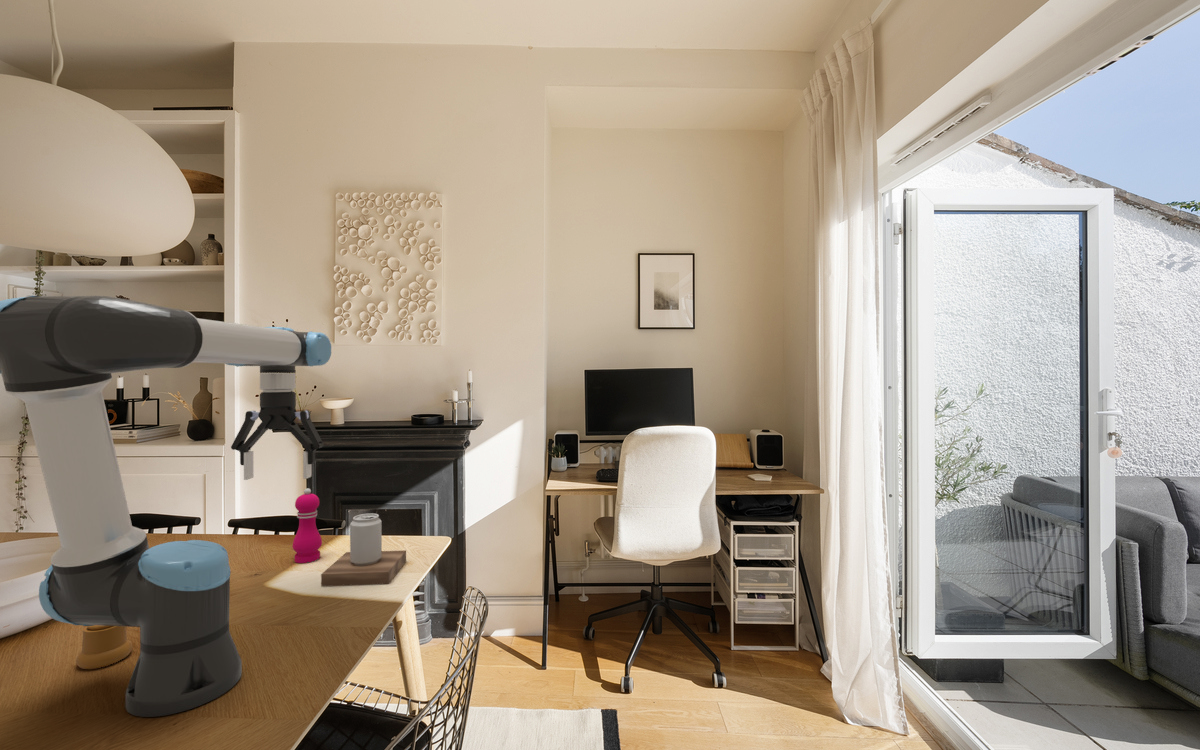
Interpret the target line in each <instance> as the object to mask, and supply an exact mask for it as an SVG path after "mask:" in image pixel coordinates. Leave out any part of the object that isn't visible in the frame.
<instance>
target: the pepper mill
mask: <svg viewBox="0 0 1200 750" xmlns="http://www.w3.org/2000/svg"><path fill="white" fill-rule="evenodd" d="M319 506H320V498H319V497H318V495H316V494H314V493H312V490H311V488H307V487H306V488H305V489H304V490H303V494H301V495H299V496H298V497H297V498H296V499H295V502H294V507H295V509H296V510H297V512H296V514H297V515H296V518H297V519H298V521H299V522H298V529H297V531H296V534H295V537H294V538H293V541H292V550H293V551H294V552H295V554H294V562H295V564H307V562H309V563H312V561H313V562H316V561H318V560H319V559H320V558H321V552H320V550H319V549H320V548H321V546H322V544H323V540H322V537H321V533H319V530H318V528H317V525H316V524H317V523H316V520H317V519H316V518H317V516H318V510H317V509H318V508H319ZM317 559H318V560H317ZM315 560H316V561H315Z"/></svg>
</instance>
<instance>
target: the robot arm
mask: <svg viewBox="0 0 1200 750" xmlns="http://www.w3.org/2000/svg"><path fill="white" fill-rule="evenodd" d="M331 356H332V344H331V340H330V338H329V337H328V336H327V335H326V333H323V332H318V331H317V332H314V331H308V332H307V331H295V330H294V329H293V328H291V327H282V326H281V327H280V326H259V325H250V324H242V323H236V322H235V323H234V322H228V321H227V322H226V321H220V320H214V319H213V320H212V319H206V318H198V317H196V316H195V315H194V314H193V313H191V312H189V311H188V310H183V309H177V308H171V307H166V306H162V305H156V304H151V303H147V302H143V301H142V302H140V301H136V300H130V299H126V298H121V297H120V298H119V297H113V296H104V295H85V296H84V295H82V296H80V295H77V296H76V295H73V296H72V295H71V296H70V295H68V296H66V295H64V296H49V295H47V296H46V295H44V296H42V295H28V296H24V297H23V296H22V297H13V298H7V299H6V298H5V299H3V300H0V375H1V377H2V381H3V385H4V390H5V392H6V393H7V394H8V395H11V396H12V397H15V398H17V399H19V400H21V401H23V402H24V406H25V410H26V415H27V417H28V421H29V426H30V430H31V433H32V438H33V441H34V445H35V449H36V453H37V457H38V460H39V465H40V468H41V472H42V477H43V481H44V483H45V484H44V485H45V488H46V491H47V496H48V500H49V503H50V508H51V511H52V515H53V520H54V523H55V526H56V531H57V534H58V539H59V543H60V546H59V548H58V549H57V550H55V552H54V553H53V554H52V555H51V557H50V563H51V565H50V566H49V567H48V568H47V569H46V570H45V573H44V576H45V578H44V579H43V580H42V581H41V582H40V583H39V587H38V598H39V604H40V606H41V608H42V610H43V611H44V613H45V614H46V615H48V616H49V617H50V618H51V619H53V620H54V621H57V622H61V623H63V624H70V625H74V626H83V627H86V626H93V625H104V626H126V628H127V627H128V628H129V627H131V628H139V641H140V642H139V643H140V645H139V646H140V647H139V648H140V649H139V651H140V652H139V656H138V659H137V661H136V664H135V666H134V668H133V671H132V674H131V676H130V679H129V683H128V685H127V688H126V690H125V710H126V712H127V713H129V714H130V715H131V716H132V715H133V716H135V717H140V718H141V717H142V718H151V717H152V718H153V717H162V716H163V717H164V716H169V715H174V714H177V713H182V712H185V711H189V710H191V709H195V708H197V707H198V708H199V706H203V705H205V704H207V703H209V702H211V701H214V700H215V699H218V698H219V697H221V696H222V695H224V694H225V693H227V692H228V691H230V690H231V689H232V688H233V687H234V686H236V685H237V684H238V682H239V680H240V679H241V678H242V674H243V673H242V671H243V670H242V668H243V665H242V658H241V656H240V654H239V652H238V651H239V650H238V648H237V646H236V644H235V642H234V639H233V637H232V635H231V631H230V598H231V597H230V594H231V593H230V590H231V589H230V588H231V587H230V585H231V566H230V563H229V560H230V559H229V554H228V553H229V552H228V551H227V548H225V547H224V546H222V545H221V544H219V543H216V542H214V541H208V540H202V539H188V540H185V541H184V540H183V541H182V540H175V541H168V542H163V543H159V544H156V545H154V546H152V547H150V546H149V541H148V537H147V532H146V531H145V530H144V529H142V528H139V527H137V526H133V525H132V520H131V516H130V515H131V514H130V511H129V507H128V506H129V505H128V501H127V498H126V494H125V489H124V484H123V480H122V479H123V478H122V475H121V470H120V467H119V466H120V465H119V463H118V462H119V461H118V458H117V453H116V449H115V444H114V438H113V434H112V431H111V426H110V423H109V422H110V421H109V417H108V413H107V412H108V411H107V407H106V404H105V400H104V395H103V390H104V389H105V387H106V386H107V385H108V384H109V383H110V382H111V381H112V380H113V377H112V374H116V373H127V372H133V371H143V370H150V369H151V370H154V369H167V368H168V369H169V368H171V369H179V368H184V367H187V366H189V365H191V364H193V363H201V364H202V363H205V364H208V363H209V364H225V365H226V366H235V367H259V390H261V391H262V392H260V393H259V408H260V410H259V411H256V410H249V411H248V410H247V411H246V412H245V416H244V420H243V423H242V425H241V427H240V428H239V431H238V432H237V434H236V436H235V439H234V440H233V443H232V444H231V445H230V448H231V450H233V451H234V450H235V451H237V452H239V455H240V456H239V457H240V458H239V459H240V461H239V463H240V465H241V466H243V480H244V481H247V480H250V479H253V478H254V450H251V449H252V448H253V447H254V445H255V444H256V443H257V442H258V441H259V440H260V439H261V438H262V437H263V435H264V434H265V433H266V432H267V431H268V430H271V431H272V430H273V431H274V430H287V431H288V432H290V434H292V435H293V437H294V438H296V440H297V441H298V442H299V444H300V445H301V446H302V447H304V449H305V451H303V452H302V458H303V459H302V463H303V464H302V466H303V468H302V469H303V470H302V471H303V473H302V478H303V480H304V479H305V480H307V479H309V478H311V477H312V465H313V464H315V463H316V451H317V450H319V449H321V448H323V447H324V445H325V444H324V442H323V440H322V438H321V436H320V435H319V434H320V433H319V432H318V431H317V429H316V427H315V424H314V423H313V422H312V419H311V412H310V411H309V410H308V409H307V410H301V411H297V409H296V404H297V401H296V400H297V397H296V396H297V393H296V391H294V390H295V389H296V387H297V385H296V383H297V379H296V377H297V376H296V371H297V370H296V367H317V366H318V367H320V366H324V365H326V364H327V363H328V362H329V361H330V359H331ZM258 418H259V420H260V421H261V422H260V424H259V425H258V426H257V427H256V429H255V430H254V431H253V433H251V430H252V428H253V427H254V425H255V423H256V421H257V420H258ZM297 418H298V419H299V421H301V425H302V426H303V428H304V431H305V432H306V434H305V433H304V432H303V430H302V429H301V428H300V427H299V425H298V423H296V421H295V420H296V419H297ZM250 433H251V435H250V436H249V434H250ZM248 436H249V437H248Z"/></svg>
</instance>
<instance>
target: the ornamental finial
mask: <svg viewBox="0 0 1200 750" xmlns="http://www.w3.org/2000/svg"><path fill="white" fill-rule="evenodd" d="M81 644H82V645H81V650H80V651H79V652H78V654H77V656H76V658H75V663H76V665H77V667H78V668H80V669H82V670H96V669H101V667H102V668H106V667H108V665H109V666H111V665H110V664H112V665H114V664H117V663H118V661H119V662H121V661H123V660H124V659H125V658H127V657H128V655H130V653H131V652H132V649H133V644H132V642H131V640H129V638H128V637H127V627H126V626H104V625H93V626H84V628H83V629H82V643H81ZM122 659H123V660H122ZM120 660H121V661H120ZM116 662H117V663H116ZM113 663H114V664H113ZM105 666H106V667H105Z"/></svg>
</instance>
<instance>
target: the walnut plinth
mask: <svg viewBox="0 0 1200 750" xmlns="http://www.w3.org/2000/svg"><path fill="white" fill-rule="evenodd" d="M405 561H406V562H407V550H406V549H405V550H382V556H381V558H380V559H379V560H378V561H377V562H376V563H374V564H370V565H363V566H359V565H355V564H354V563H352V562H351V561H350V551H347V552H345V553H344V554H342V555H341V556H340V557H339V558H337V560H336V561H335V562H334V563H332V564H331V565H329V567H328V568H327V569H325V570H324V571H323V572H322V573H321V574H320V577H321V578H320V579H321V580H320V582H321V583H320V584H321V587H336V586H340V587H341V586H366V585H367V586H368V585H371V586H373V585H389V584H390V583H391V581H393V579H394V578H395V576H396V575H397V574H398V572H399V571H400V570H401V569H402V567H403V566H404V565H405V563H406V562H405Z"/></svg>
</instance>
